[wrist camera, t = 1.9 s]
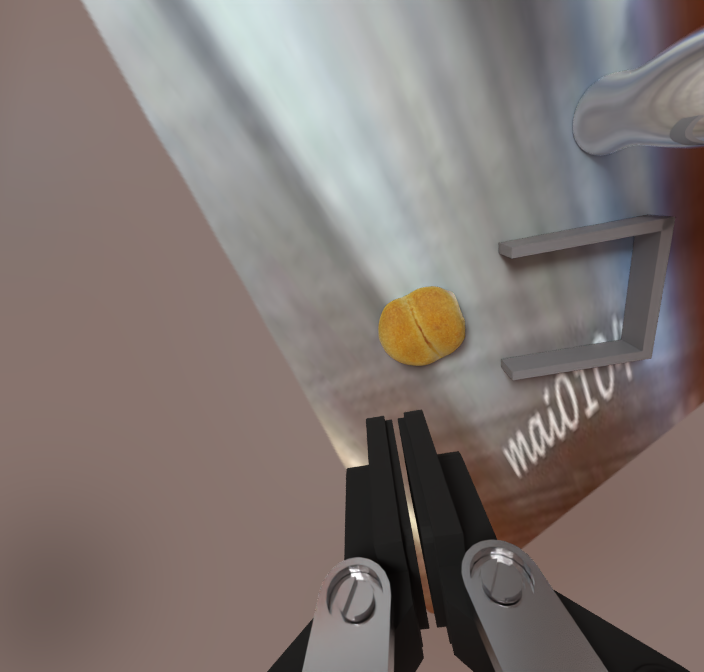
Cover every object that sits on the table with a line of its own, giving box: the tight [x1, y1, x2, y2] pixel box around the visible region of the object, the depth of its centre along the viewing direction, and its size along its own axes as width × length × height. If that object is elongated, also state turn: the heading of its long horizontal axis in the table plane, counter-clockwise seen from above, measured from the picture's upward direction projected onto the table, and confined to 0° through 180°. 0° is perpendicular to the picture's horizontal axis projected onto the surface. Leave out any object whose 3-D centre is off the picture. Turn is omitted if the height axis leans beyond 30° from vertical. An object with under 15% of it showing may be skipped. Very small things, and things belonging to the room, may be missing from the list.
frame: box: [499, 215, 675, 380], centre depth 34 cm, size 14×14×3 cm
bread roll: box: [379, 286, 465, 366], centre depth 35 cm, size 8×9×4 cm
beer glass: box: [573, 24, 704, 156], centre depth 22 cm, size 7×7×15 cm
